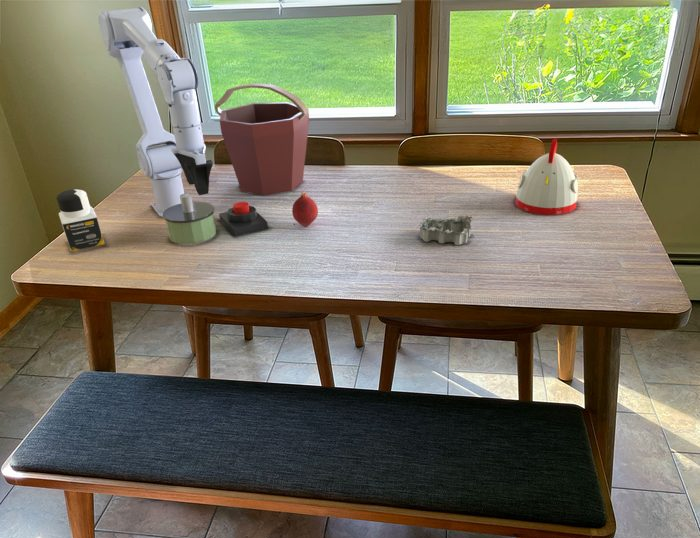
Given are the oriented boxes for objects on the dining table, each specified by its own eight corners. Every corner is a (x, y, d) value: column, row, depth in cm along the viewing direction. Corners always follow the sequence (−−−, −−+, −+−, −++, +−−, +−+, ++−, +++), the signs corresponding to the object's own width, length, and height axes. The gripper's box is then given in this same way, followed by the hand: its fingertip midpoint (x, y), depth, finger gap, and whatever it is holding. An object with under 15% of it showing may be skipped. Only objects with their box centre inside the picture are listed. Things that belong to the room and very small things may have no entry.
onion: (315, 232, 138) (312, 197, 133) (290, 231, 139) (287, 196, 135) (321, 222, 143) (319, 188, 138) (297, 220, 144) (294, 187, 139)
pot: (165, 233, 141) (159, 210, 138) (208, 223, 145) (204, 201, 141) (176, 249, 133) (171, 226, 130) (222, 239, 137) (218, 215, 134)
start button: (231, 211, 142) (230, 203, 141) (246, 207, 143) (245, 200, 142) (236, 216, 139) (235, 208, 138) (251, 212, 141) (250, 205, 140)
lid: (158, 213, 138) (153, 192, 136) (206, 202, 142) (203, 183, 140) (170, 229, 130) (165, 208, 127) (221, 218, 134) (217, 197, 131)
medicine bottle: (71, 253, 134) (54, 200, 127) (67, 242, 139) (50, 190, 132) (105, 246, 136) (90, 193, 129) (100, 235, 142) (85, 184, 135)
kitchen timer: (510, 211, 143) (518, 146, 135) (520, 191, 154) (527, 129, 145) (573, 217, 139) (584, 150, 130) (578, 196, 149) (589, 133, 141)
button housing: (219, 220, 146) (217, 206, 144) (251, 213, 149) (249, 199, 147) (234, 236, 138) (232, 222, 136) (268, 228, 141) (266, 214, 139)
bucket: (209, 189, 164) (192, 90, 150) (261, 165, 179) (249, 73, 165) (283, 204, 153) (271, 98, 139) (331, 177, 168) (325, 79, 154)
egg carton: (473, 233, 134) (474, 216, 132) (464, 247, 128) (465, 229, 126) (426, 227, 138) (427, 210, 135) (415, 240, 132) (416, 222, 130)
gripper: (159, 120, 130) (172, 182, 138) (175, 135, 120) (189, 202, 127) (191, 115, 133) (203, 176, 141) (211, 130, 122) (221, 195, 130)
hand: (198, 188), depth 134 cm, fingers open, 7 cm apart
